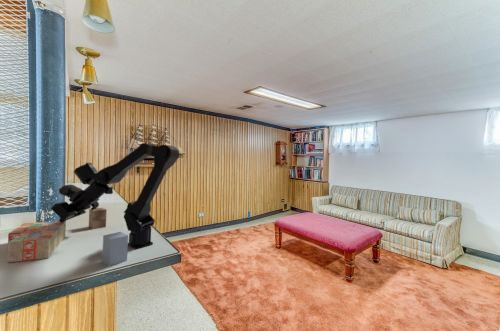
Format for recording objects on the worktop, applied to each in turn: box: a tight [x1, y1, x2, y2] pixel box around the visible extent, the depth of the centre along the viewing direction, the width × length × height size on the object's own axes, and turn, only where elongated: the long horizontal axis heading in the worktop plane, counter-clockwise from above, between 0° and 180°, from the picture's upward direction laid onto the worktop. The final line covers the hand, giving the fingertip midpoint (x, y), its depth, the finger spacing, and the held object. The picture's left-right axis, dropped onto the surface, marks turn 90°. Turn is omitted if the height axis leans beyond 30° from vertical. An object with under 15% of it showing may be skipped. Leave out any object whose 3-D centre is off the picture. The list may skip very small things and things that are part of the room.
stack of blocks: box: [7, 220, 67, 263], centre depth 76 cm, size 21×6×12 cm
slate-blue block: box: [101, 231, 129, 267], centre depth 70 cm, size 5×5×8 cm
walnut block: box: [88, 207, 107, 230], centre depth 101 cm, size 5×5×8 cm
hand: (60, 221), depth 85 cm, fingers closed
